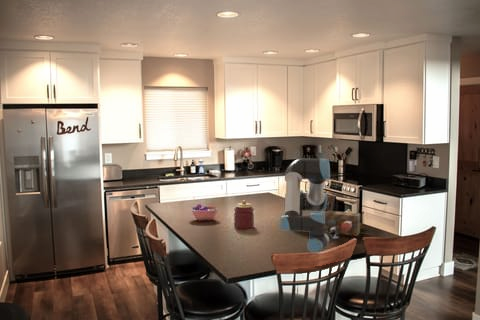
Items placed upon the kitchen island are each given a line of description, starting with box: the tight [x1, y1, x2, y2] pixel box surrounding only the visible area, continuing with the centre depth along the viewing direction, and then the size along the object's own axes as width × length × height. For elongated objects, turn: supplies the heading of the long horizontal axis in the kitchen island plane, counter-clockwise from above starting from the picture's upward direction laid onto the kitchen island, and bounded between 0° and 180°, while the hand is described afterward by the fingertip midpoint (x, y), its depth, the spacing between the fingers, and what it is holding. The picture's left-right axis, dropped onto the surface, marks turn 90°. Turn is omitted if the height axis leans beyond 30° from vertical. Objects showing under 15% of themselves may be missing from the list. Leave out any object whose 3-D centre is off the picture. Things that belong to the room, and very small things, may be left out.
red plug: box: [341, 220, 353, 232], centre depth 259 cm, size 5×13×5 cm, turn 154°
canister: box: [233, 199, 255, 230], centre depth 280 cm, size 13×13×18 cm
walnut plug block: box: [324, 210, 361, 237], centre depth 268 cm, size 20×8×12 cm, turn 64°
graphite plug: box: [327, 218, 337, 227], centre depth 269 cm, size 5×13×5 cm, turn 154°
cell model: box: [189, 203, 219, 222], centre depth 300 cm, size 17×20×11 cm
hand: (334, 229), depth 246 cm, fingers closed
